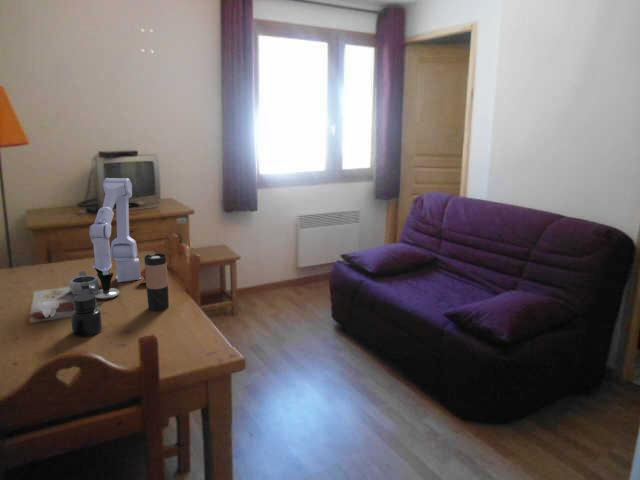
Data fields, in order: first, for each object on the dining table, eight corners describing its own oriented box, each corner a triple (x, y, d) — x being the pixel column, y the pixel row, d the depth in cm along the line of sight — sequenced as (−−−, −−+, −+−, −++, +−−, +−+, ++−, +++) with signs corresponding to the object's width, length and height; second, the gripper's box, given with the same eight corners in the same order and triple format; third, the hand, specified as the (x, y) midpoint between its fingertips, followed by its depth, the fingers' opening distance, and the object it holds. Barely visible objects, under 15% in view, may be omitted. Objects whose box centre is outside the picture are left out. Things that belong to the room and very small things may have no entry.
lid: (118, 291, 204) (116, 278, 203) (121, 298, 196) (120, 285, 195) (92, 294, 200) (91, 282, 198) (94, 302, 192) (93, 289, 190)
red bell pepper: (143, 291, 210) (162, 276, 210) (131, 278, 209) (150, 263, 209) (147, 287, 217) (165, 273, 217) (136, 274, 216) (154, 260, 216)
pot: (96, 280, 216) (94, 269, 214) (100, 295, 199) (99, 283, 197) (70, 284, 211) (68, 272, 210) (72, 299, 194) (71, 287, 193)
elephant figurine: (36, 321, 174) (34, 305, 172) (42, 312, 181) (40, 297, 180) (57, 319, 175) (55, 303, 174) (62, 311, 183) (60, 295, 181)
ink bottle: (95, 323, 173) (92, 290, 170) (108, 330, 167) (105, 296, 164) (66, 332, 165) (62, 298, 162) (79, 340, 160) (75, 305, 157)
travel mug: (163, 312, 183) (159, 259, 178) (144, 310, 184) (139, 258, 179) (173, 304, 190) (169, 254, 185) (154, 303, 192) (151, 252, 187)
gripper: (89, 250, 198) (92, 283, 201) (92, 260, 185) (96, 294, 189) (108, 248, 201) (111, 280, 204) (113, 257, 189) (116, 291, 192)
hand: (105, 287), depth 197 cm, fingers open, 7 cm apart
